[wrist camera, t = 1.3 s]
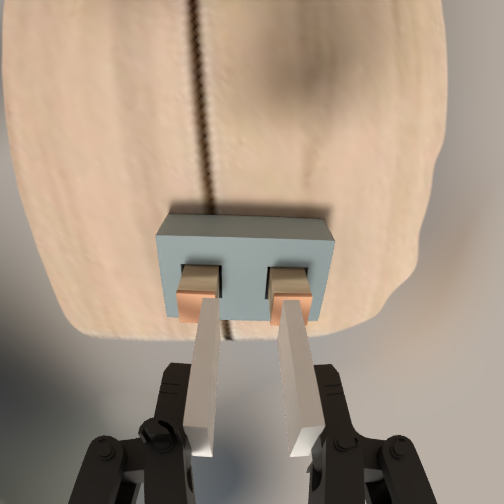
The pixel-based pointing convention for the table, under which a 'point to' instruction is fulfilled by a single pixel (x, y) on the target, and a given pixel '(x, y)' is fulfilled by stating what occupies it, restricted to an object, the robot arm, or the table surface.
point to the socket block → (244, 258)
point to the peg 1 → (196, 290)
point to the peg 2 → (288, 291)
